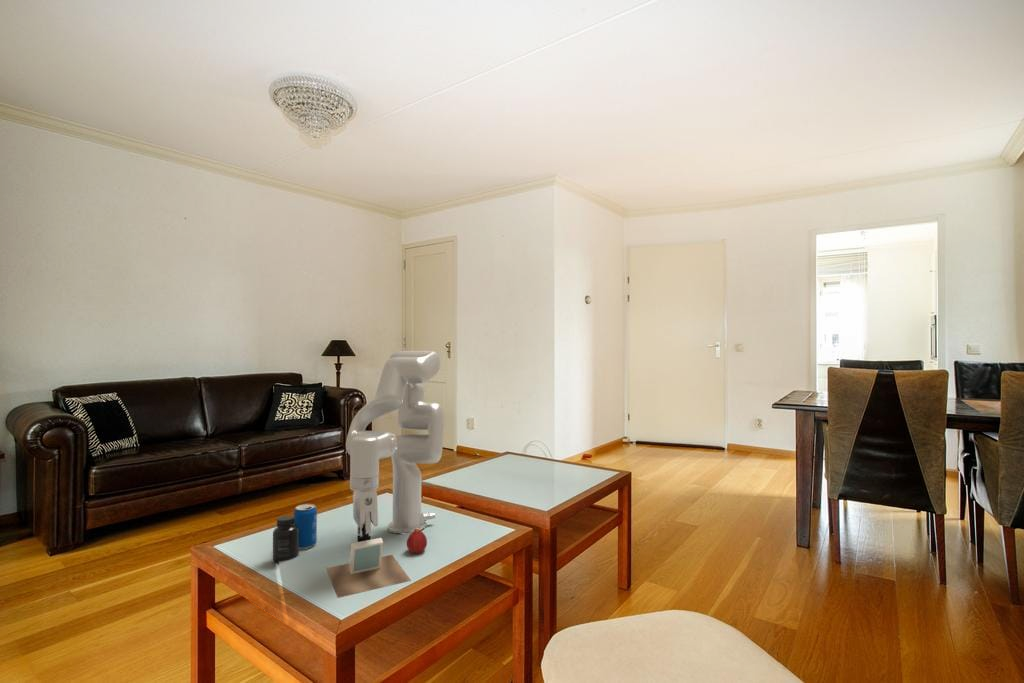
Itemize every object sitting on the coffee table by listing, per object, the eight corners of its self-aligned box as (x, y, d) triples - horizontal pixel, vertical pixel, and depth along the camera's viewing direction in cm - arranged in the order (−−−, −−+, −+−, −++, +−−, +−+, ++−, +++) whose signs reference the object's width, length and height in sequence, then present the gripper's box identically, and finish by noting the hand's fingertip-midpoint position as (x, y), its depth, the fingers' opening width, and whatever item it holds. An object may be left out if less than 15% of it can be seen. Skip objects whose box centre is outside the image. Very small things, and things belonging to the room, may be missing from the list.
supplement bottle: (304, 556, 142) (304, 515, 142) (286, 566, 135) (286, 523, 135) (285, 553, 144) (285, 512, 144) (266, 563, 137) (267, 520, 138)
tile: (379, 563, 134) (381, 537, 132) (381, 568, 132) (383, 542, 130) (349, 569, 130) (350, 543, 128) (350, 575, 128) (352, 548, 126)
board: (392, 558, 140) (392, 554, 140) (411, 585, 125) (411, 580, 125) (326, 572, 132) (326, 568, 132) (337, 602, 116) (337, 597, 116)
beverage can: (308, 551, 146) (308, 510, 146) (288, 549, 147) (289, 509, 147) (320, 542, 152) (321, 504, 152) (302, 541, 153) (302, 502, 153)
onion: (409, 550, 146) (409, 524, 146) (428, 551, 146) (428, 524, 146) (404, 559, 140) (404, 531, 140) (424, 559, 140) (424, 531, 140)
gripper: (385, 487, 127) (384, 557, 127) (372, 474, 141) (371, 538, 140) (355, 490, 124) (355, 563, 123) (345, 477, 137) (344, 543, 137)
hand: (363, 549), depth 132 cm, fingers closed
